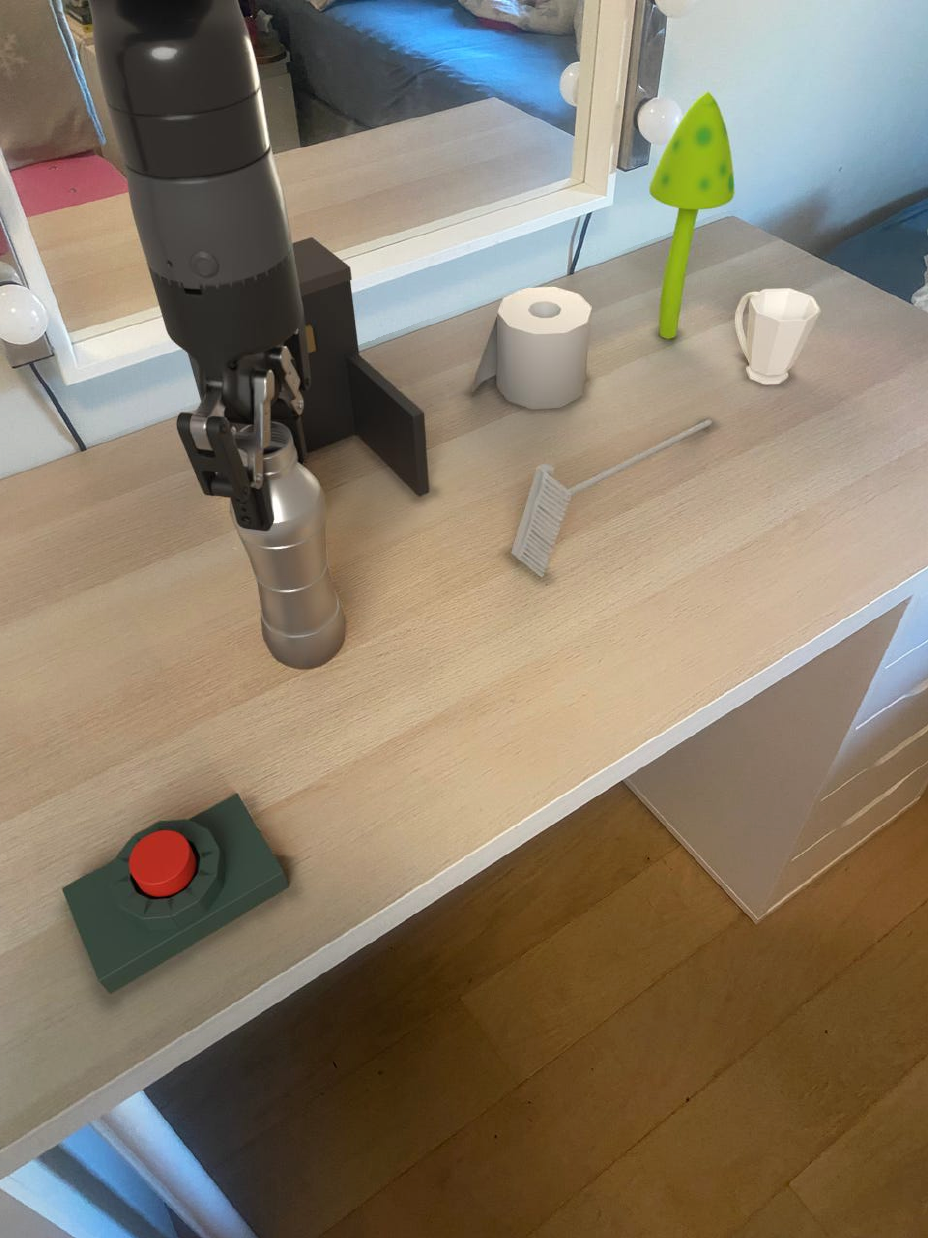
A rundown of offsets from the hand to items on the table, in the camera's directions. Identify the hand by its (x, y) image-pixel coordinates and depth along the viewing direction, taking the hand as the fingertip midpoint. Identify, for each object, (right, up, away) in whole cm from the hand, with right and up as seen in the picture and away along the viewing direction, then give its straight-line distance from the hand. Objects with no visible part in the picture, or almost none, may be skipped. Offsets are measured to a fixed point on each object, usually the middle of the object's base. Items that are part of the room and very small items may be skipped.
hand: (274, 492), depth 59 cm
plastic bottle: (0, -11, +12) cm, 16 cm away
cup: (+44, +19, +39) cm, 62 cm away
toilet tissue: (+19, +17, +37) cm, 45 cm away
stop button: (-6, -24, -4) cm, 25 cm away
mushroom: (+36, +24, +43) cm, 61 cm away
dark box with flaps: (-2, +7, +28) cm, 29 cm away
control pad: (-6, -26, -1) cm, 27 cm away
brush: (+27, +3, +25) cm, 37 cm away
